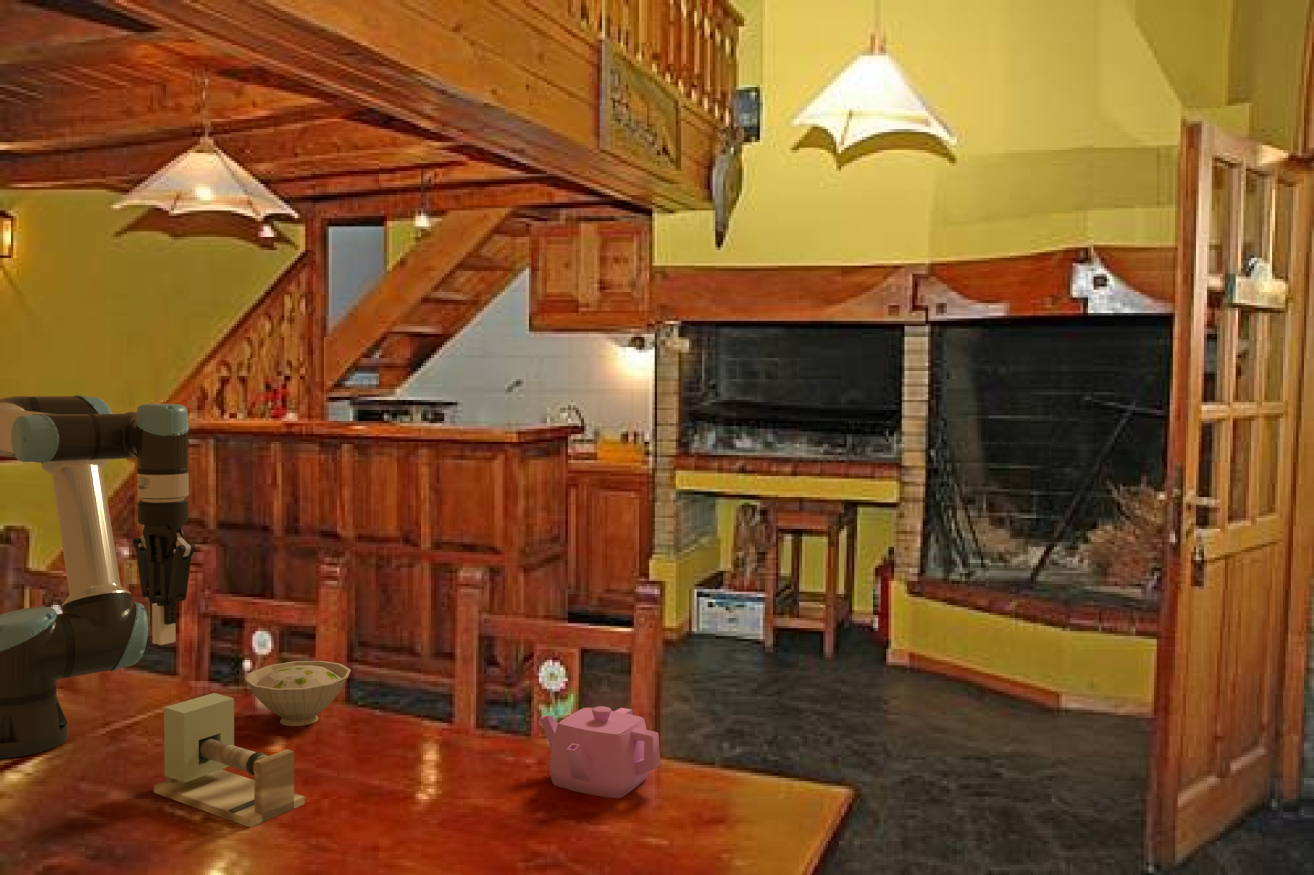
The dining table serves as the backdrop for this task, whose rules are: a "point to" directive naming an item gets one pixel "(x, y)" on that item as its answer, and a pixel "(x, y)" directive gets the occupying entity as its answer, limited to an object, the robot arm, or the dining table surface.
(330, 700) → the bowl
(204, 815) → the dining table surface
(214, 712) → the square sliding block
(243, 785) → the rail stand
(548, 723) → the teakettle
